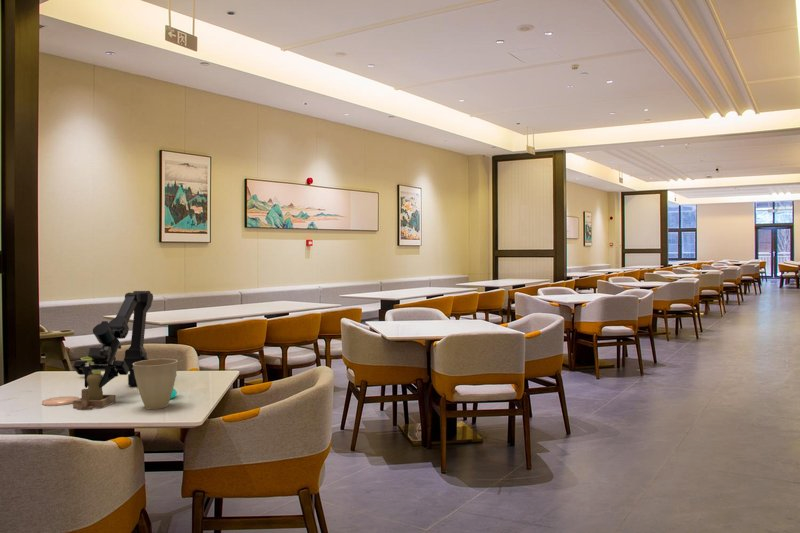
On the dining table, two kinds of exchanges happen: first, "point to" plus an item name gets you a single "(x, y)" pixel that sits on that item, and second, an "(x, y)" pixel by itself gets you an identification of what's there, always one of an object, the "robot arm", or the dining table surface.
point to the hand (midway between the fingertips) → (92, 387)
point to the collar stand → (92, 401)
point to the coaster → (59, 401)
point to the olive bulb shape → (95, 387)
